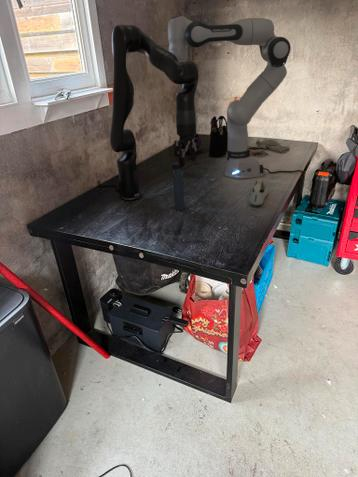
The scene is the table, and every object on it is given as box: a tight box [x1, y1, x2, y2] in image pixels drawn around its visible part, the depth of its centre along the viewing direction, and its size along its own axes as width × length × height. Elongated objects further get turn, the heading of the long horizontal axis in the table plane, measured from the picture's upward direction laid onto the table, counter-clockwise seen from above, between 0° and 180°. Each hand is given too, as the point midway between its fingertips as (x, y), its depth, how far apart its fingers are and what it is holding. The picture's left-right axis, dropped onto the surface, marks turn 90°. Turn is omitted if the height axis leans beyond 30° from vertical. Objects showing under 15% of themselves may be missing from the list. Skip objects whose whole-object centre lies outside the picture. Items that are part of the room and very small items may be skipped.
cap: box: [172, 161, 183, 170], centre depth 144 cm, size 4×4×2 cm
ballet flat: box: [249, 179, 269, 207], centre depth 158 cm, size 8×24×8 cm, turn 163°
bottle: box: [172, 169, 186, 212], centre depth 149 cm, size 4×4×21 cm
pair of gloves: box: [247, 138, 291, 157], centre depth 228 cm, size 30×26×5 cm
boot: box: [209, 115, 219, 139], centre depth 247 cm, size 9×24×20 cm, turn 168°
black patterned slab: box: [208, 115, 228, 158], centre depth 222 cm, size 21×9×25 cm, turn 148°
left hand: (187, 163), depth 132 cm, fingers open, 8 cm apart
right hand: (179, 86), depth 168 cm, fingers open, 8 cm apart
